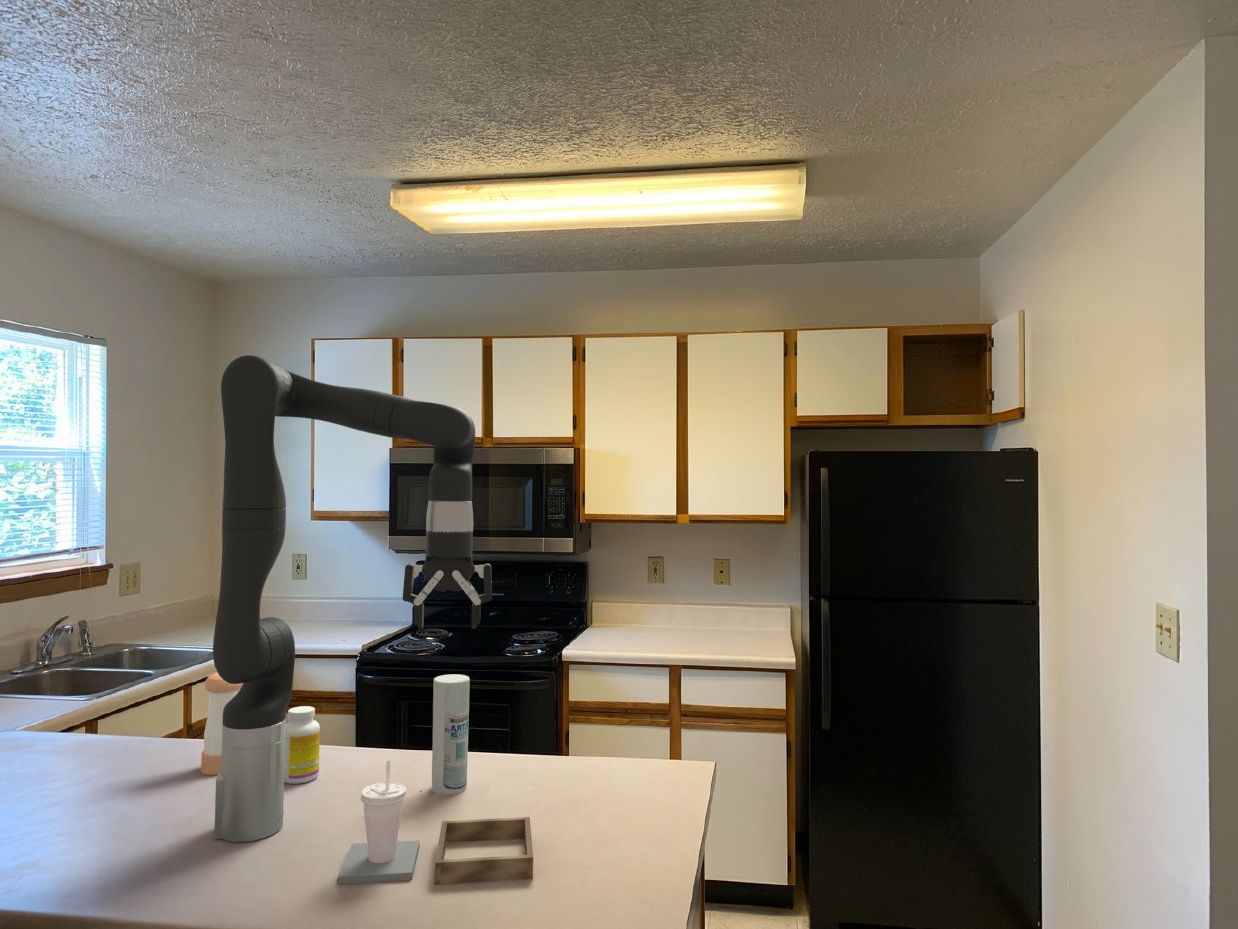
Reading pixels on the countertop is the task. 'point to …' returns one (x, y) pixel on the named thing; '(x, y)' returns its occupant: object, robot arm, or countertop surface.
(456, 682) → the spray can
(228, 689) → the salt shaker
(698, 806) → the countertop surface
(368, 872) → the mat
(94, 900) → the countertop surface
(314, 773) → the supplement bottle
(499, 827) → the frame
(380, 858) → the smoothie
